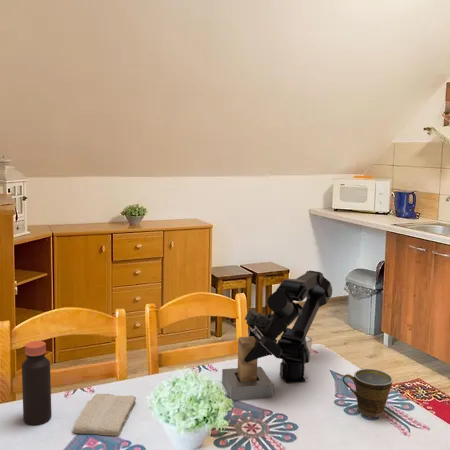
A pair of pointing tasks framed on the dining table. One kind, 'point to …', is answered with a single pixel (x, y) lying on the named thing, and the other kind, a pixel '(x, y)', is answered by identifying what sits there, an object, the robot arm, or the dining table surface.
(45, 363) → the bottle
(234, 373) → the socket block
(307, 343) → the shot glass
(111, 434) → the washcloth
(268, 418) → the dining table surface
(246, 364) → the oak peg
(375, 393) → the ceramic cup
